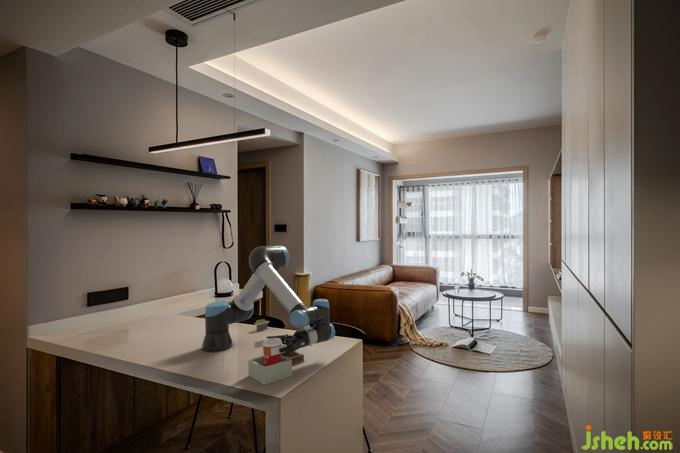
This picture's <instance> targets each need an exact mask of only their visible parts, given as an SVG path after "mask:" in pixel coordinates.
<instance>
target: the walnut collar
mask: <svg viewBox="0 0 680 453" xmlns="http://www.w3.org/2000/svg"><path fill="white" fill-rule="evenodd" d="M281 355H282V356H284V357H286V358H289V359H291V360H292V366H294V365H297V364H300V363H304V361H305V354H303V353H301V352H299V351H297V350H296V351H294V352H293V353H291V352H287V351H286V352H284V353H281Z"/></svg>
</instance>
